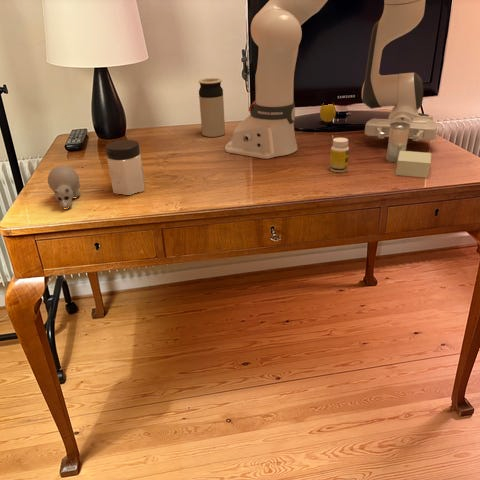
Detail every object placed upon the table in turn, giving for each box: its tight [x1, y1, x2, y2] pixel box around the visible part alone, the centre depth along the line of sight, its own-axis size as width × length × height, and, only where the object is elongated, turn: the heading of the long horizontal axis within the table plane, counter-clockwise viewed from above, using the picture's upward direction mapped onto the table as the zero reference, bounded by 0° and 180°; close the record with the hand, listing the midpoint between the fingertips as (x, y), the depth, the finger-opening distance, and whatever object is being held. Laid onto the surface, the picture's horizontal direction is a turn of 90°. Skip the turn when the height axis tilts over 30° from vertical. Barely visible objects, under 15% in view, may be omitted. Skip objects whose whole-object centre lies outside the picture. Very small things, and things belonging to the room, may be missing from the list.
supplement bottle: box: [329, 137, 350, 173], centre depth 124 cm, size 5×5×8 cm
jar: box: [105, 139, 146, 196], centre depth 117 cm, size 9×8×12 cm
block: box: [395, 150, 432, 179], centre depth 122 cm, size 8×8×4 cm
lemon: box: [319, 103, 337, 123], centre depth 164 cm, size 6×6×8 cm
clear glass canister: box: [385, 122, 410, 163], centre depth 129 cm, size 5×5×10 cm
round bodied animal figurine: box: [47, 165, 81, 209], centre depth 112 cm, size 7×12×8 cm, turn 11°
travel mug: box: [198, 77, 226, 138], centre depth 155 cm, size 8×8×18 cm
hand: (398, 137), depth 132 cm, fingers open, 8 cm apart
